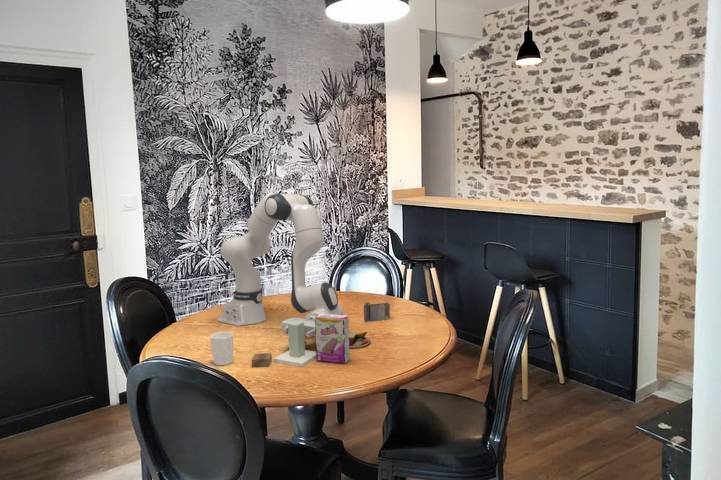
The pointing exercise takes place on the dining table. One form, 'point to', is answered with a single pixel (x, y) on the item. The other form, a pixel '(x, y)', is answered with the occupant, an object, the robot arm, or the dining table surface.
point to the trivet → (295, 361)
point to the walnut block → (261, 360)
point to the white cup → (222, 348)
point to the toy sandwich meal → (358, 340)
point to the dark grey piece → (376, 311)
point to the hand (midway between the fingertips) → (295, 333)
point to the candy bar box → (332, 338)
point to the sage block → (296, 339)
